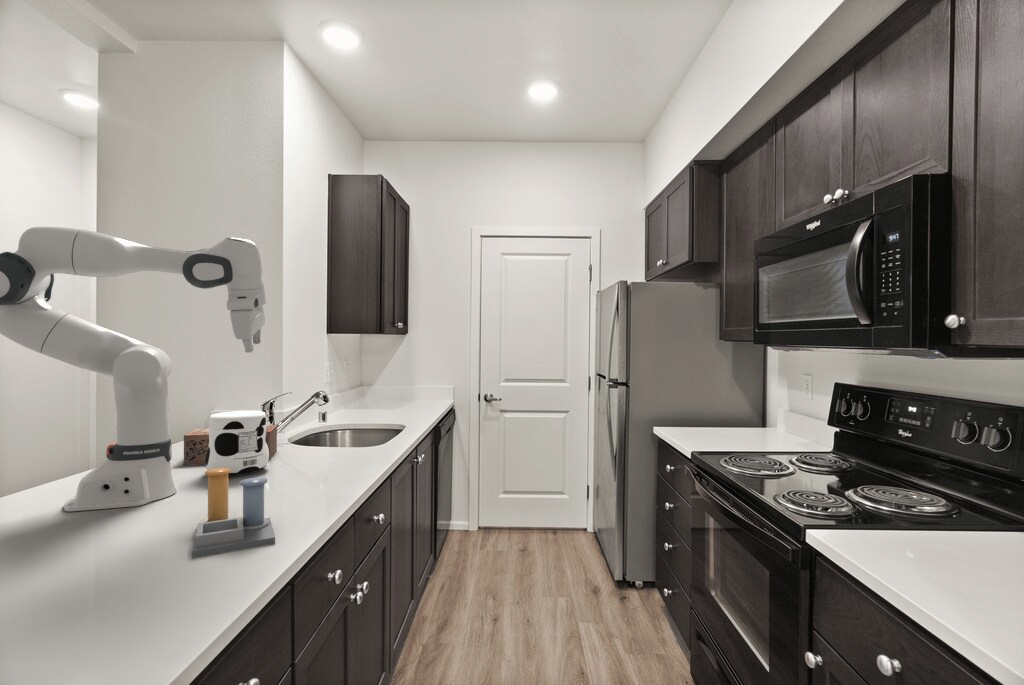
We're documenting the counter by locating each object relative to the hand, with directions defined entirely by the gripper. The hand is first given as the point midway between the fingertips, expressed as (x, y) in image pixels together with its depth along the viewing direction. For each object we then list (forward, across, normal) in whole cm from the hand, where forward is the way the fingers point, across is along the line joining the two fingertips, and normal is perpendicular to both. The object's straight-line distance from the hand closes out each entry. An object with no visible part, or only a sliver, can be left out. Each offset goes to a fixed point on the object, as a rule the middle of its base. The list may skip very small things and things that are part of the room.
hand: (253, 347), depth 141 cm
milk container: (+42, -8, -11) cm, 44 cm away
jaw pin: (+31, +35, -4) cm, 47 cm away
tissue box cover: (+46, -30, -18) cm, 58 cm away
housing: (+28, +48, +3) cm, 56 cm away
